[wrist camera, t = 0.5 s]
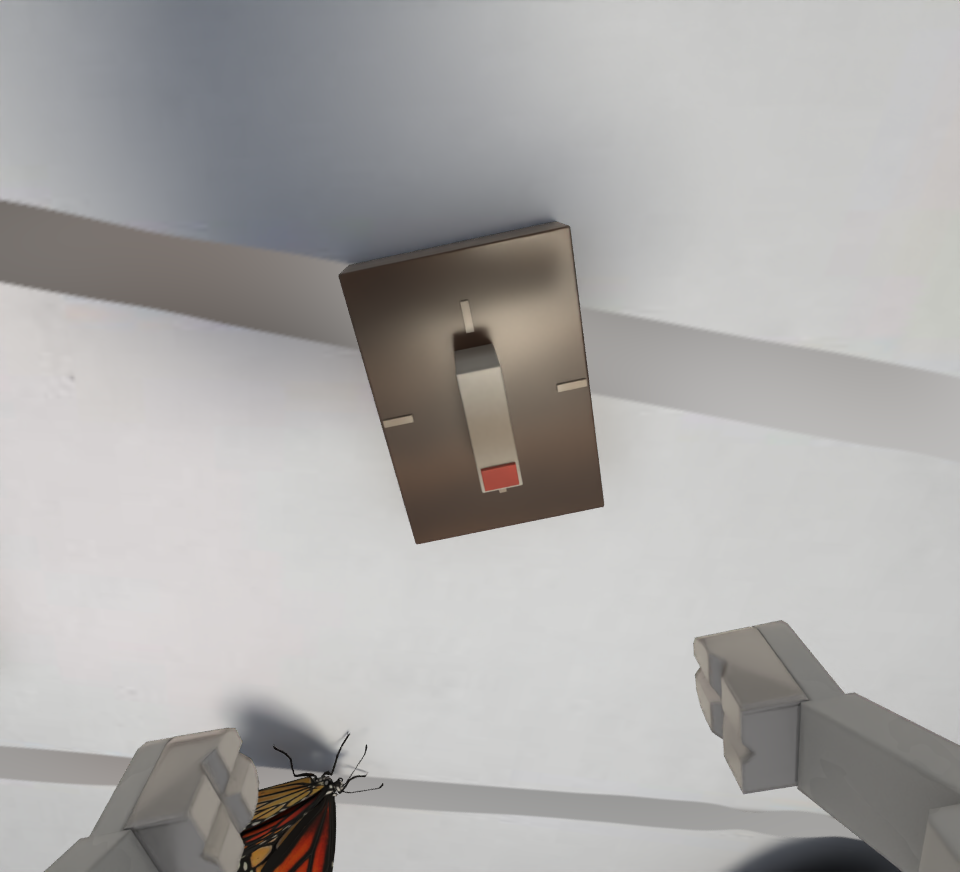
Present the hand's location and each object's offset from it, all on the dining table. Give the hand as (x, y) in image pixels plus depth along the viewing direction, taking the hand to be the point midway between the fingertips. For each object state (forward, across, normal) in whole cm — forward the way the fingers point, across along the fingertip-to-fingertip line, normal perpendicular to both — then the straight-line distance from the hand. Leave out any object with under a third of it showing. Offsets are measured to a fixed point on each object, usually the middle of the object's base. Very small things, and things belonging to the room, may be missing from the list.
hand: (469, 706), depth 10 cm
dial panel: (+21, -1, +1) cm, 21 cm away
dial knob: (+18, -1, +1) cm, 18 cm away
